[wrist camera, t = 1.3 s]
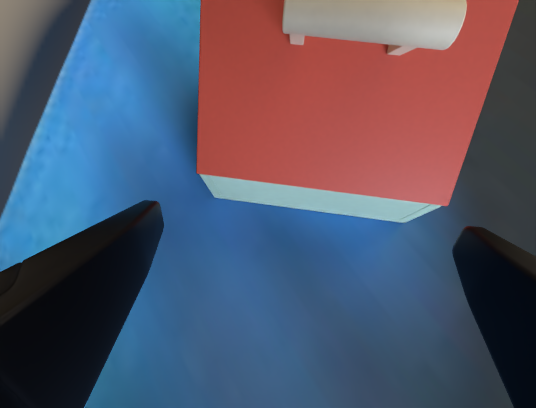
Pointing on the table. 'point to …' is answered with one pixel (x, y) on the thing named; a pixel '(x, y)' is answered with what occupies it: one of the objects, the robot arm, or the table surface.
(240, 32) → the lid
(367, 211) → the sage green storage bin
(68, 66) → the table surface
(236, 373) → the table surface
